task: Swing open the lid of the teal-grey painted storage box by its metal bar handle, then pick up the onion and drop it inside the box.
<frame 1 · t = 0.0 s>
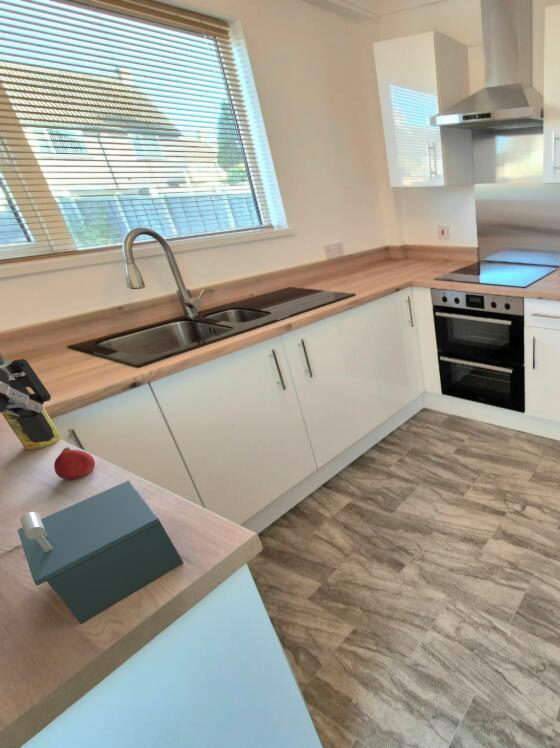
hand: (17, 460, 51), 26 cm above the table, tool pointing down, fingers open, 8 cm apart
lid: (81, 514, 63), point 11 cm above the table, hinge at 0.0°
chest: (121, 566, 69), on the table
onion: (84, 480, 90), on the table
sauce bottle: (48, 448, 102), on the table
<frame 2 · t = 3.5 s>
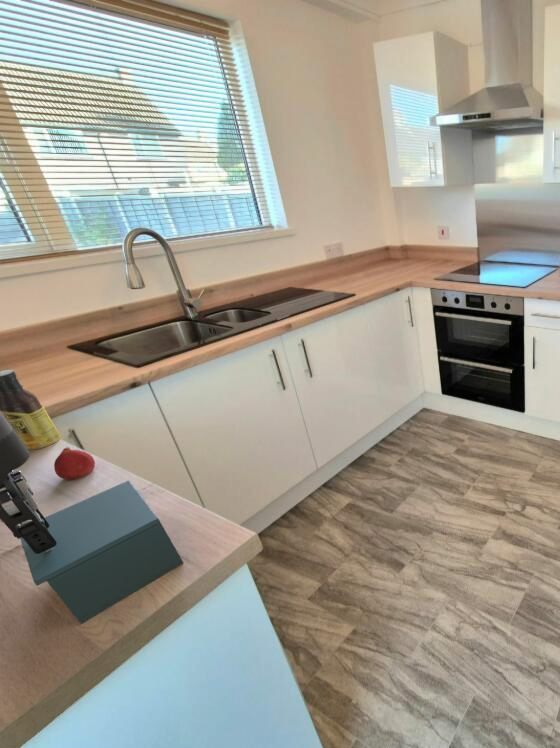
hand: (43, 539, 60), 11 cm above the table, tool pointing down, fingers closed on lid, 5 cm apart
lid: (81, 514, 63), point 11 cm above the table, hinge at 0.0°, touching gripper
everything else where it was.
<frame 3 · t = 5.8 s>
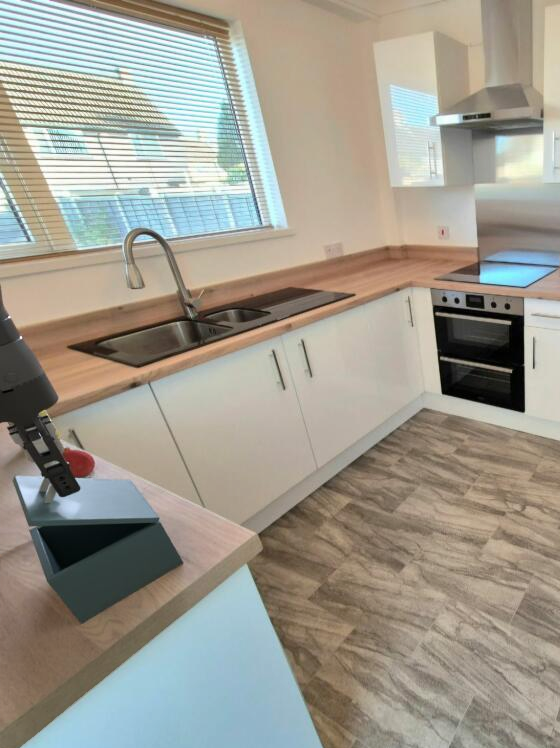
hand: (66, 484, 61), 17 cm above the table, tool pointing down, fingers closed on lid, 5 cm apart
lid: (93, 485, 63), point 15 cm above the table, hinge at 37.5°, touching gripper
everything else where it was.
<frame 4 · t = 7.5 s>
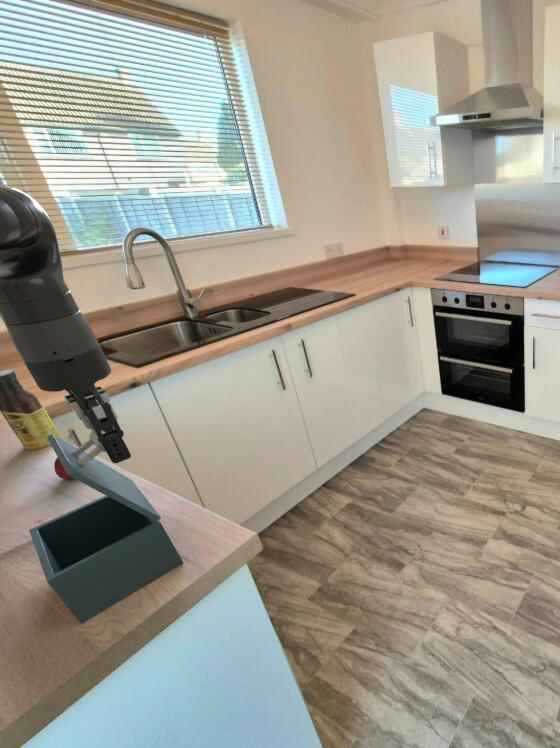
hand: (117, 453, 65), 18 cm above the table, tool pointing down, fingers closed on lid, 5 cm apart
lid: (118, 466, 65), point 16 cm above the table, hinge at 67.5°, touching gripper
everything else where it was.
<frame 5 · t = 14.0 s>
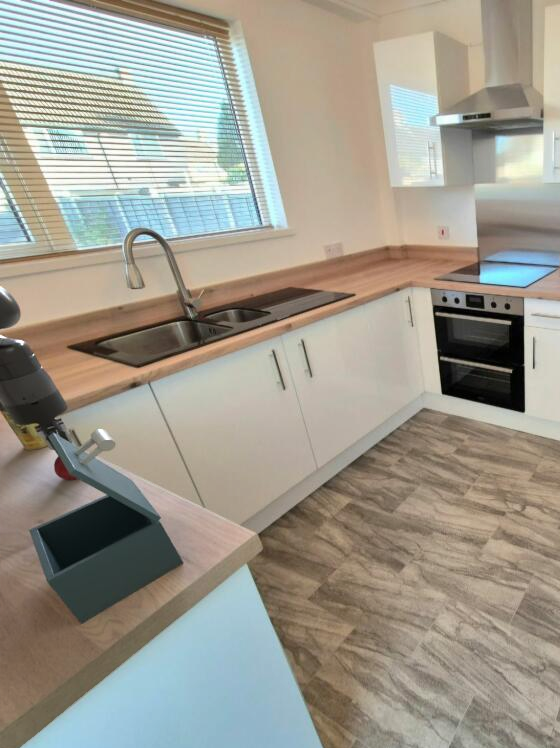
hand: (75, 465, 88), 4 cm above the table, tool pointing down, fingers closed on onion, 5 cm apart
lid: (119, 465, 65), point 16 cm above the table, hinge at 68.3°
onion: (84, 480, 90), on the table, touching gripper
everything else where it was.
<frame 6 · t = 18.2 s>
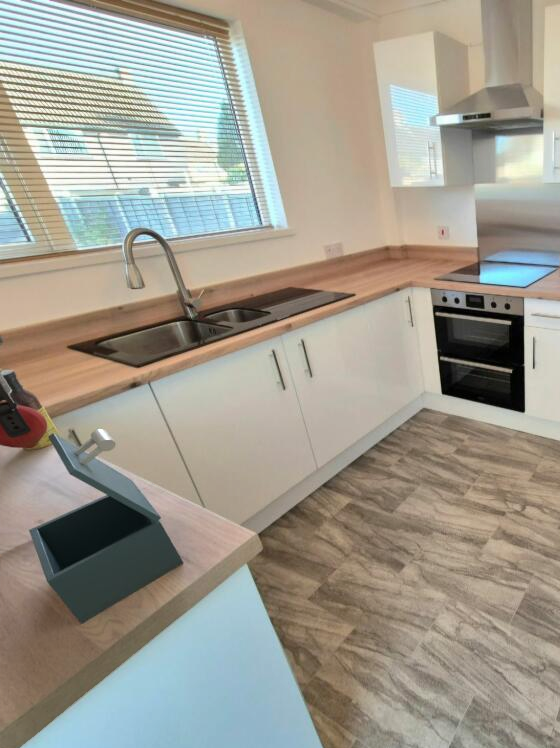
hand: (17, 427, 63), 24 cm above the table, tool pointing down, fingers closed on onion, 5 cm apart
onion: (32, 448, 64), point 20 cm above the table, touching gripper
everything else where it was.
when the fingers open (11 cm above the table, at t = 22.6 s): onion drops 7 cm, resting on chest.
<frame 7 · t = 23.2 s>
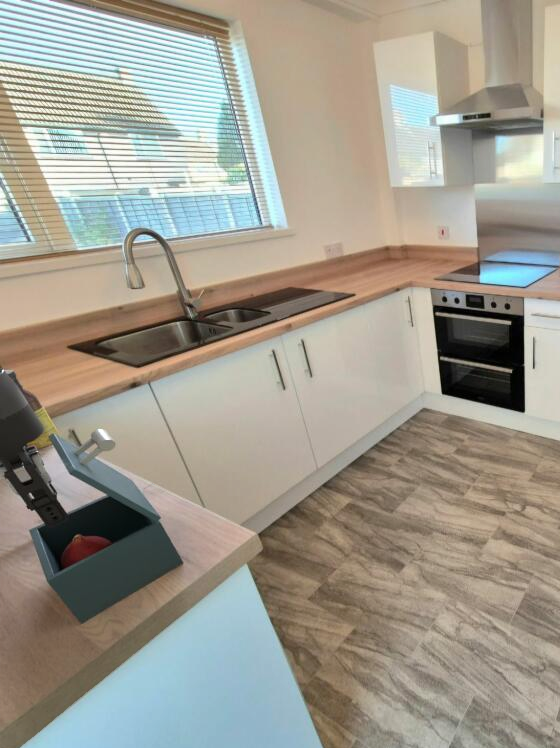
hand: (53, 510, 60), 14 cm above the table, tool pointing down, fingers open, 8 cm apart
onion: (101, 575, 66), point 1 cm above the table, touching chest
everything else where it was.
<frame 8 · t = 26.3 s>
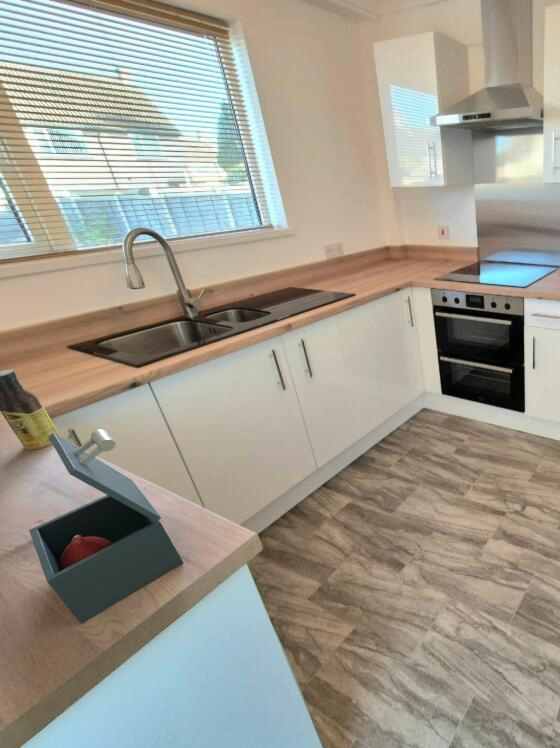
nothing on the table moved.
at the end: lid at +68° (first picture: +0°); onion inside the target area in the chest (2.4 cm from its centre), point 0.6 cm above the chest's base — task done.
